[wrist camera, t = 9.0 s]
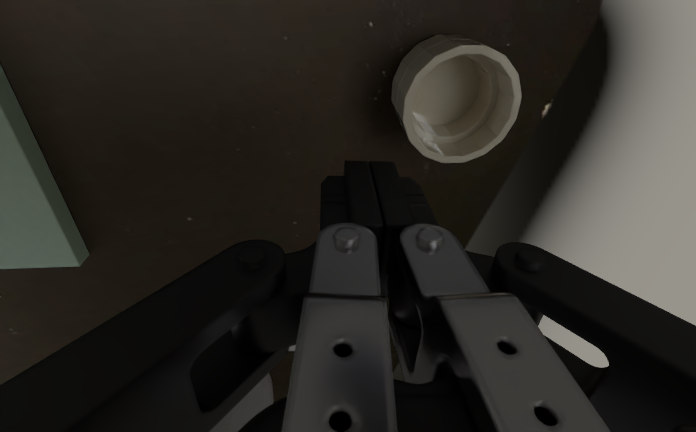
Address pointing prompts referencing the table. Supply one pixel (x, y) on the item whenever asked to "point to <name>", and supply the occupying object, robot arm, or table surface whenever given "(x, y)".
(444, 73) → the bowl
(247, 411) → the potted plant
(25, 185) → the scale
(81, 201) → the table surface
